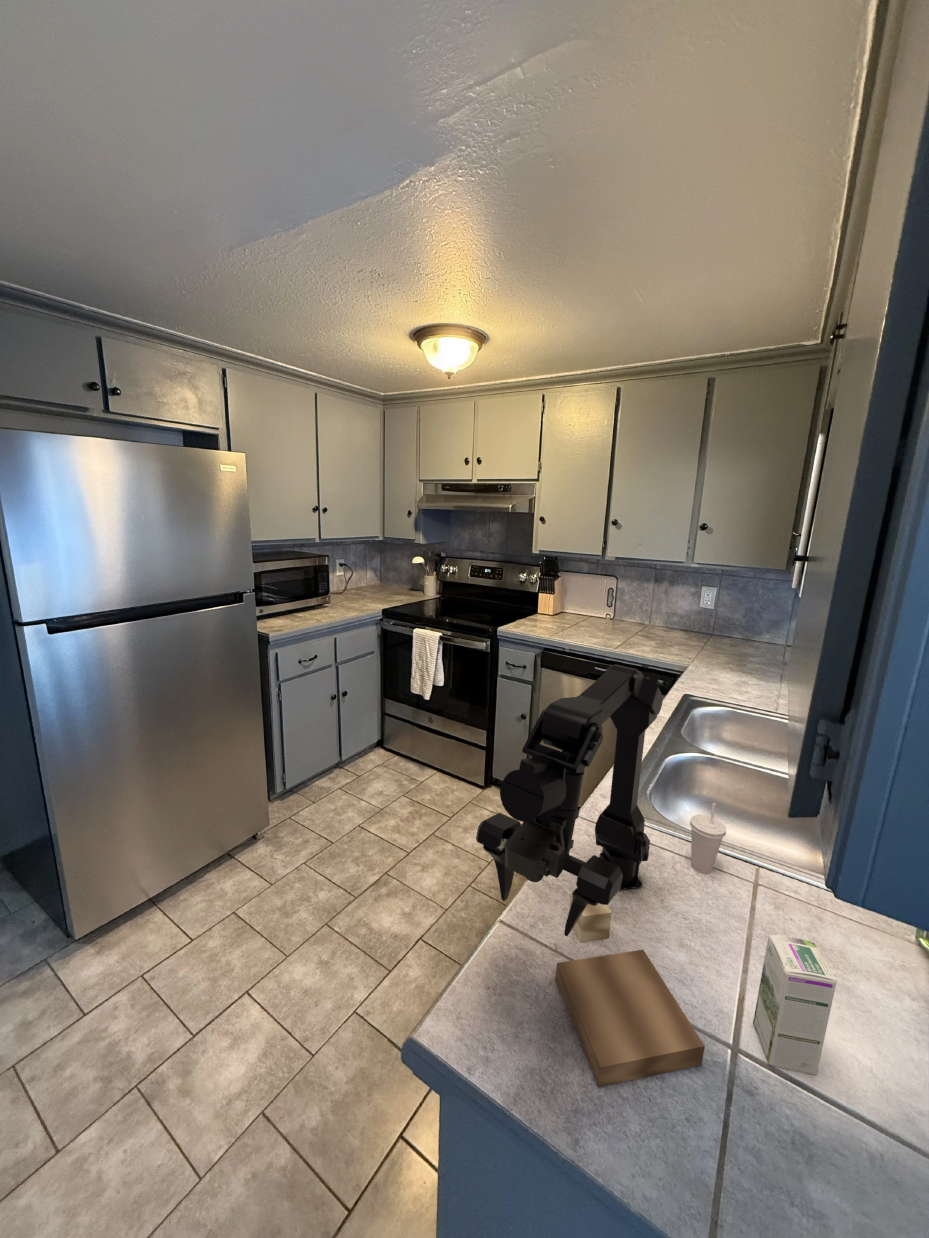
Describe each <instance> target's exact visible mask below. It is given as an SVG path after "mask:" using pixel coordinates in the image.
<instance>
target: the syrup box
mask: <svg viewBox="0 0 929 1238" xmlns="http://www.w3.org/2000/svg"><path fill="white" fill-rule="evenodd" d="M766 943H767V944H766V947H765V948H766V949H765V955H764V959H763V964H762V970H761V975H760V976H761V977H760V981H759V982H760V983H759V987H758V993H757V998H756V1004H755V1010H754V1016H753V1022H752V1023H753V1025H754V1029H755V1031H756V1034H757V1036H758V1039H759V1041H760V1044H761V1047H762V1049H763V1052H764V1055H765V1058H766V1060H767V1063H768V1065H770V1066H773V1067H776V1068H781V1069H784V1070H790V1071H794V1072H798V1073H803V1074H806V1075H812V1076H817V1074H818V1070H819V1066H820V1061H821V1056H822V1051H823V1047H824V1042H825V1038H826V1035H827V1029H828V1028H827V1027H828V1024H829V1019H830V1014H831V1009H832V1005H833V1000H834V995H835V991H836V986H837V979H836V977H835V976H834V974H833V972H832V970H830V967H829V965H828V964H827V962H826V960H825V958H824V957H823V955H822V954H821V952H820V950H819V948H818V946H817V945H816V943H815V942H814V941H810V940H805V939H801V938H797V937H790V936H784V935H776V934H775V935H774V934H768V936H767V942H766Z"/></svg>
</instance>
